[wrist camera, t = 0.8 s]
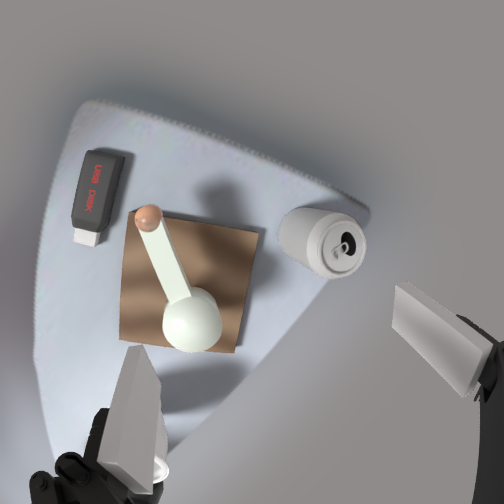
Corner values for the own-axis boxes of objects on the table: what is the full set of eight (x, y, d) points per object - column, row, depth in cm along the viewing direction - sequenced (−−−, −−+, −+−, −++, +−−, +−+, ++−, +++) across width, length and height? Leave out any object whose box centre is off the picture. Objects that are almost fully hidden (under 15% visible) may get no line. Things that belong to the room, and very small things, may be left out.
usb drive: (125, 157, 32) (120, 155, 30) (105, 245, 34) (99, 249, 31) (91, 151, 31) (84, 148, 28) (72, 237, 33) (65, 240, 30)
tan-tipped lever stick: (225, 324, 33) (231, 340, 30) (177, 342, 32) (177, 359, 29) (175, 194, 29) (173, 194, 25) (121, 215, 28) (112, 219, 24)
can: (330, 242, 41) (379, 261, 30) (289, 267, 40) (328, 296, 29) (311, 197, 39) (359, 201, 28) (266, 222, 38) (301, 236, 27)
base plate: (232, 348, 41) (234, 353, 40) (121, 334, 37) (119, 339, 35) (256, 231, 38) (258, 233, 37) (131, 211, 34) (128, 212, 32)
